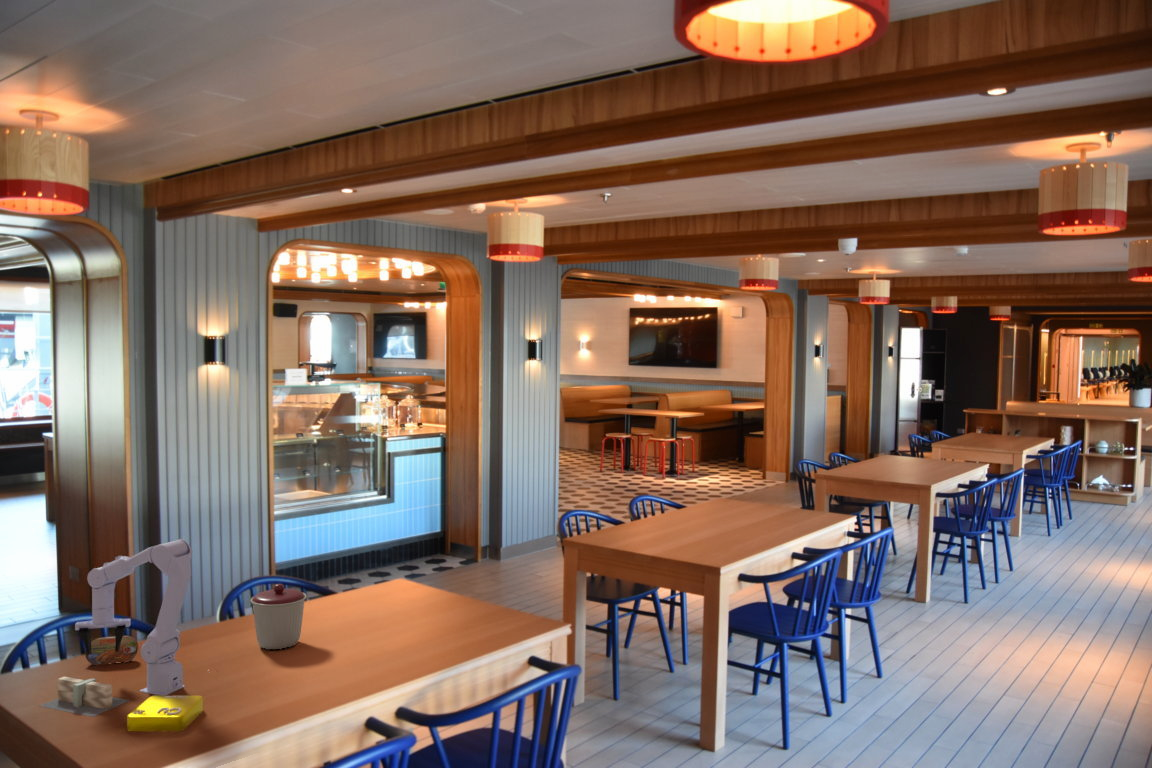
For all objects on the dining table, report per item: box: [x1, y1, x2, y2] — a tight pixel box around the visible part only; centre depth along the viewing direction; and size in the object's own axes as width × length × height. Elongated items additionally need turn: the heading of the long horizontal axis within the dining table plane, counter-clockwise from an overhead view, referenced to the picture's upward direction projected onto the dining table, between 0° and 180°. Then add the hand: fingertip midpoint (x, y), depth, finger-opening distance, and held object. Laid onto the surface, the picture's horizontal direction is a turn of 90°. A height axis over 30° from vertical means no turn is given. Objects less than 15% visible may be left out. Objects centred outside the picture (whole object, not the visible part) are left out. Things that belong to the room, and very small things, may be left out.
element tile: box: [126, 694, 204, 732], centre depth 230 cm, size 15×15×5 cm
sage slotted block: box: [73, 677, 97, 707], centre depth 240 cm, size 2×6×6 cm, turn 156°
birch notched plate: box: [57, 676, 113, 709], centre depth 240 cm, size 18×2×6 cm, turn 70°
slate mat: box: [39, 696, 130, 717], centre depth 240 cm, size 20×12×1 cm, turn 70°
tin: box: [84, 635, 139, 666], centre depth 273 cm, size 15×3×8 cm, turn 105°
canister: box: [250, 583, 308, 650], centre depth 291 cm, size 18×18×21 cm
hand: (103, 651), depth 256 cm, fingers open, 7 cm apart
